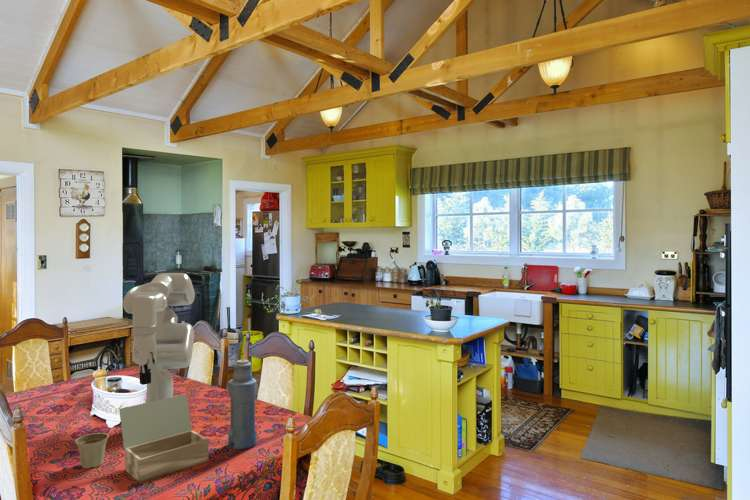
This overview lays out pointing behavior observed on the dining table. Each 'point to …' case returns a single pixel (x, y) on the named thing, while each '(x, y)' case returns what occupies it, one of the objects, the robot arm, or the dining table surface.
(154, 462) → the box
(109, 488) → the dining table surface
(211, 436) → the dining table surface
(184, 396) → the lid
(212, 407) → the dining table surface
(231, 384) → the bottle
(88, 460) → the flower pot
